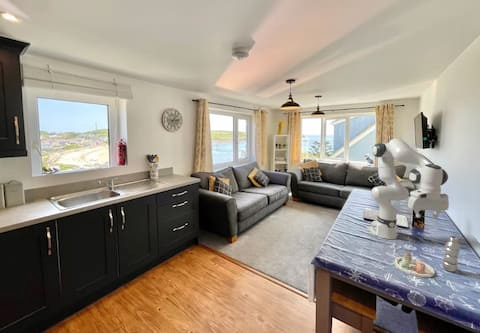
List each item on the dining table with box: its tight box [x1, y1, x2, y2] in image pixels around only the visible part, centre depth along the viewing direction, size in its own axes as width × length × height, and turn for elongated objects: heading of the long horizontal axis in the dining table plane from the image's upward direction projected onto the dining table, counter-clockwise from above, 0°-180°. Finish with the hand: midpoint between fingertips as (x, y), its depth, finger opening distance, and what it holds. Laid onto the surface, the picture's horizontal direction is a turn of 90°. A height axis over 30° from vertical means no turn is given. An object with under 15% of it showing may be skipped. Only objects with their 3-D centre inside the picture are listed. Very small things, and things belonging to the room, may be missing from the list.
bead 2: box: [401, 258, 410, 269], centre depth 129 cm, size 4×4×5 cm
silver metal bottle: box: [441, 235, 461, 273], centre depth 127 cm, size 6×7×20 cm
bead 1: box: [403, 252, 413, 264], centre depth 134 cm, size 4×4×5 cm
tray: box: [394, 256, 436, 279], centre depth 129 cm, size 18×18×2 cm
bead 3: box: [416, 263, 425, 274], centre depth 124 cm, size 4×4×5 cm
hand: (426, 217), depth 126 cm, fingers open, 8 cm apart
